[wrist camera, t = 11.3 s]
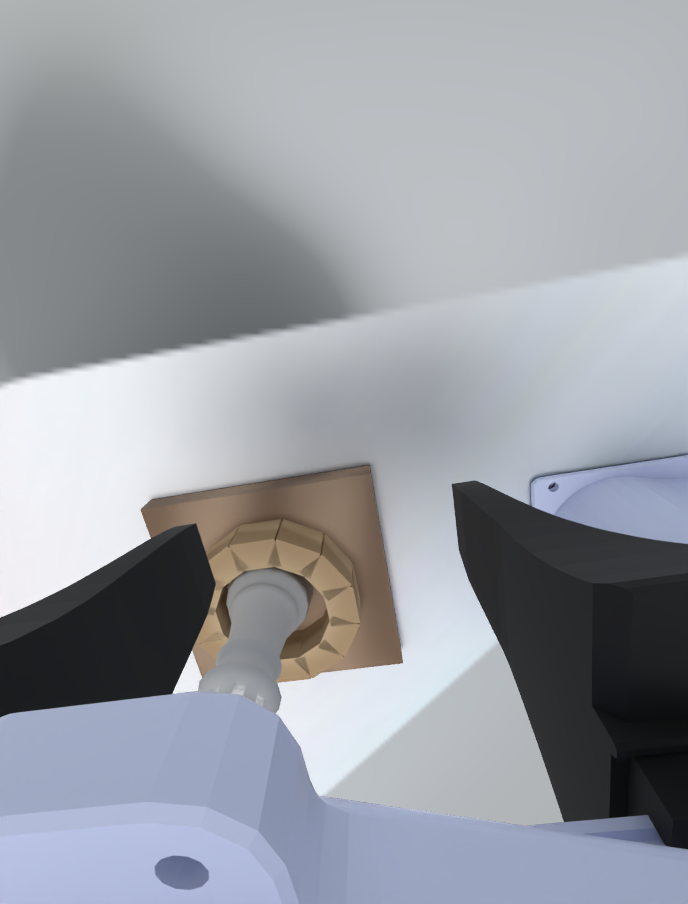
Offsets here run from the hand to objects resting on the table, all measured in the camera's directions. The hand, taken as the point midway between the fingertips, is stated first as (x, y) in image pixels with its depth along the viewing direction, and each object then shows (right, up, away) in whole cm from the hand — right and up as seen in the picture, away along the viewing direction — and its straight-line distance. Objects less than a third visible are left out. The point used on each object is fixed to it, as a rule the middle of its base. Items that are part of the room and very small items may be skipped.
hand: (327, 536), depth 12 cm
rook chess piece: (-3, -5, +12) cm, 13 cm away
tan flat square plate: (-3, -5, +13) cm, 14 cm away
